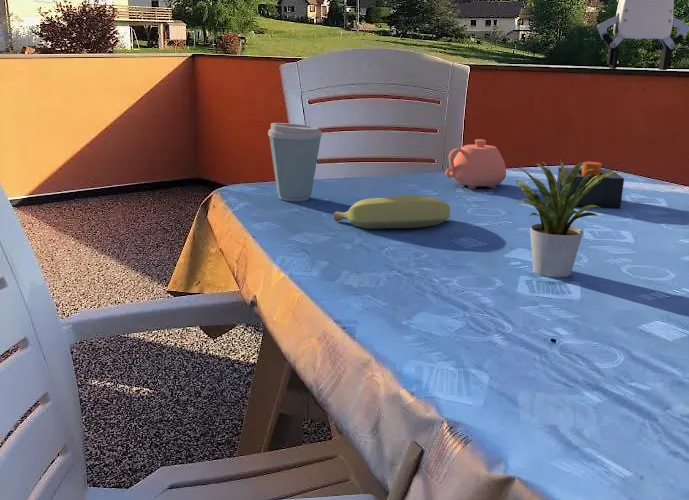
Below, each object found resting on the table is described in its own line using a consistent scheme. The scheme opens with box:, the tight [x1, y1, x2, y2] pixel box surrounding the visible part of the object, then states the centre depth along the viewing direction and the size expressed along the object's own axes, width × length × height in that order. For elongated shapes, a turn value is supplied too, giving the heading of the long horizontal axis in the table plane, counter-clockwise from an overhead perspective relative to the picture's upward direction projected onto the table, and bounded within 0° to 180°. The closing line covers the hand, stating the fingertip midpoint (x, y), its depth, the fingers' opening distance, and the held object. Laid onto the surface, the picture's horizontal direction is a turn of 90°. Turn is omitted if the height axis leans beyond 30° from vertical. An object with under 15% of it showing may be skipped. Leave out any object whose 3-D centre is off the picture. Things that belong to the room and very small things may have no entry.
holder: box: [556, 166, 625, 210], centre depth 144 cm, size 11×11×6 cm
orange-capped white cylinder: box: [581, 161, 603, 175], centre depth 144 cm, size 4×4×8 cm
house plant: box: [514, 158, 622, 279], centre depth 98 cm, size 14×14×16 cm
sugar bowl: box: [445, 138, 507, 190], centre depth 158 cm, size 12×14×10 cm
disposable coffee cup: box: [267, 122, 323, 203], centre depth 141 cm, size 11×11×15 cm
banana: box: [332, 195, 451, 230], centre depth 124 cm, size 14×6×20 cm
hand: (637, 69), depth 141 cm, fingers open, 9 cm apart
